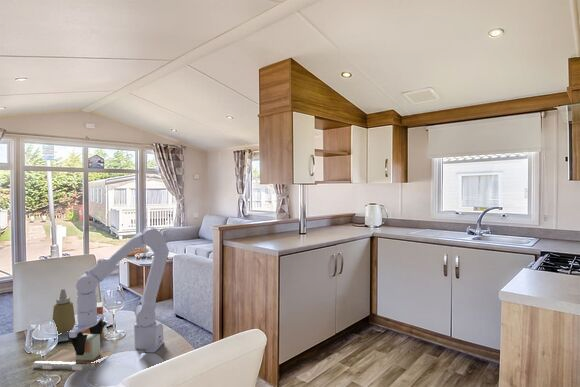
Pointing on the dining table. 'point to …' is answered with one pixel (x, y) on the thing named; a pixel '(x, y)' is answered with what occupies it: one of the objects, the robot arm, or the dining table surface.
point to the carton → (90, 347)
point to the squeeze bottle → (63, 313)
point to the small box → (99, 312)
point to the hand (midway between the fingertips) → (88, 349)
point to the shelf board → (70, 361)
